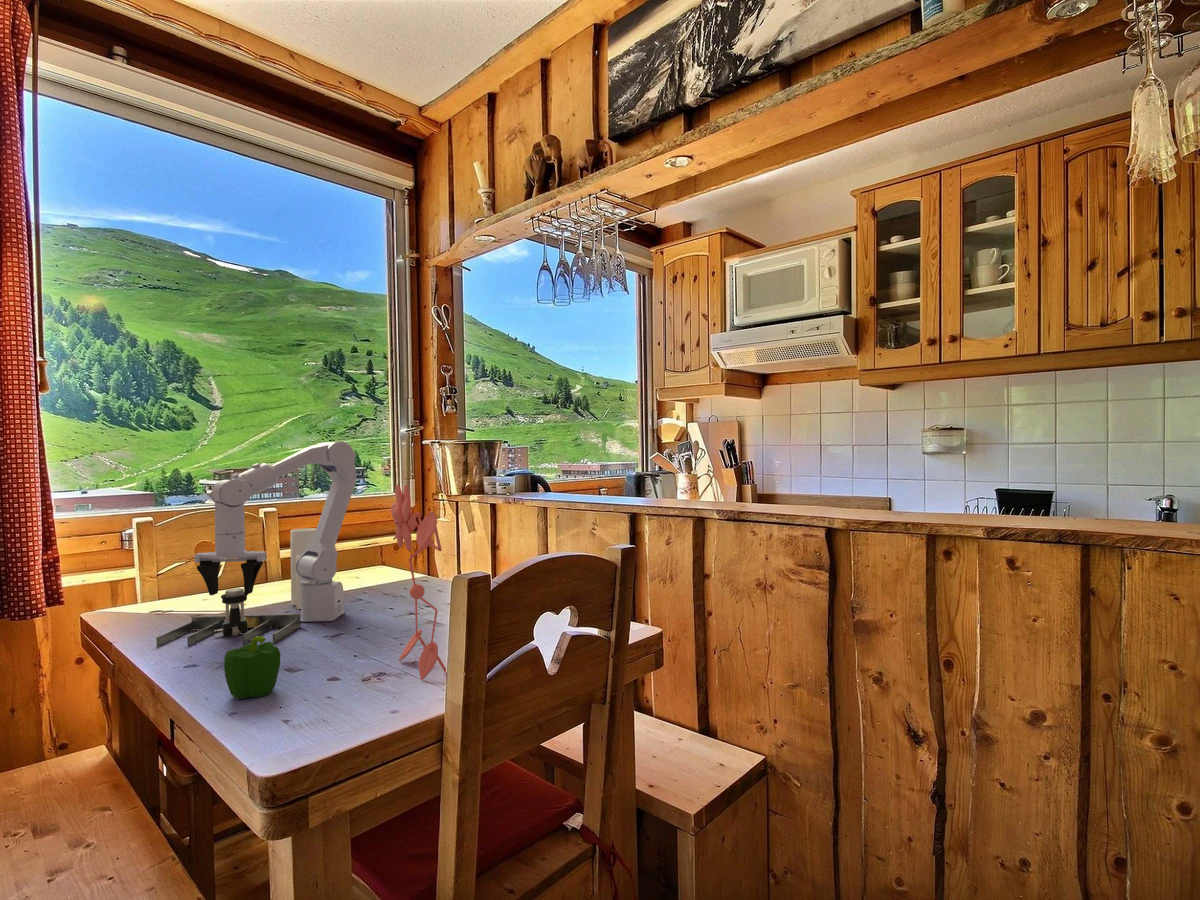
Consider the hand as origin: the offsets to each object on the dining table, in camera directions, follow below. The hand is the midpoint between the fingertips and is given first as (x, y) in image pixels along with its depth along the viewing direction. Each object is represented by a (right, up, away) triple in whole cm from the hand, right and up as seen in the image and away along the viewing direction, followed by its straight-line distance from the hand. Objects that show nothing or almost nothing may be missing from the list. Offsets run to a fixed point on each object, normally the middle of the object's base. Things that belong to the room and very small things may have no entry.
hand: (231, 593), depth 136 cm
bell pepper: (+24, -10, -33) cm, 42 cm away
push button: (-1, -10, +1) cm, 10 cm away
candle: (+4, -10, +28) cm, 30 cm away
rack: (0, -10, 0) cm, 10 cm away
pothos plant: (+46, -9, -24) cm, 53 cm away
